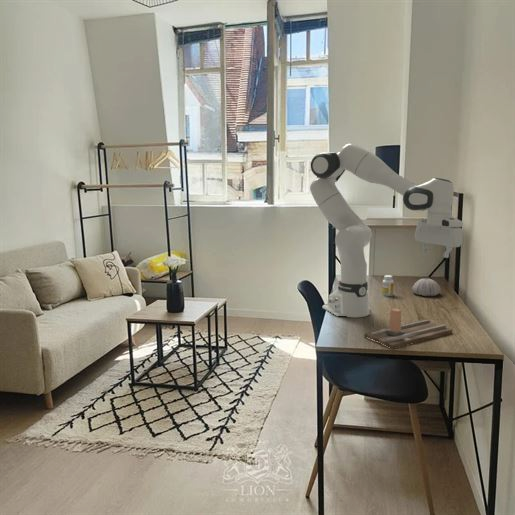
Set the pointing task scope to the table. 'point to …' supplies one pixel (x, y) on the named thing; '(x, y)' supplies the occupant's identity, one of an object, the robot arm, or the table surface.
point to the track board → (410, 333)
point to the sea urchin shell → (426, 287)
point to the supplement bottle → (387, 285)
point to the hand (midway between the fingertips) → (435, 255)
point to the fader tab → (395, 323)
